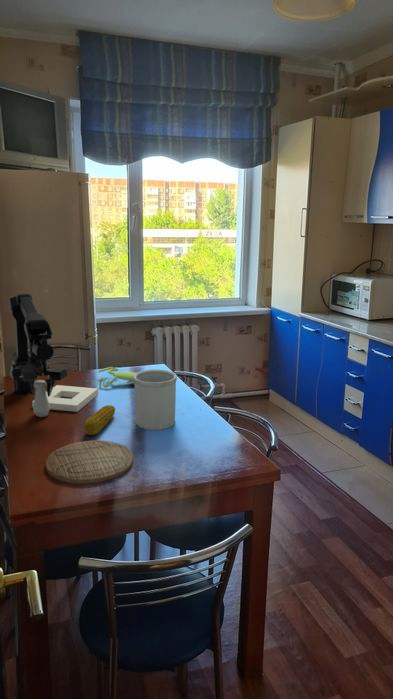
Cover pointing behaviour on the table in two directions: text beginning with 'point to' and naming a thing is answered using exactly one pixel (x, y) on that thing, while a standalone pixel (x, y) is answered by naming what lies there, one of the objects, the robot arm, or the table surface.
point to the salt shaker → (41, 399)
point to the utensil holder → (155, 399)
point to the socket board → (77, 393)
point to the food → (99, 420)
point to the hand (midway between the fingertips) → (40, 395)
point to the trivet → (89, 462)
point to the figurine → (116, 376)
